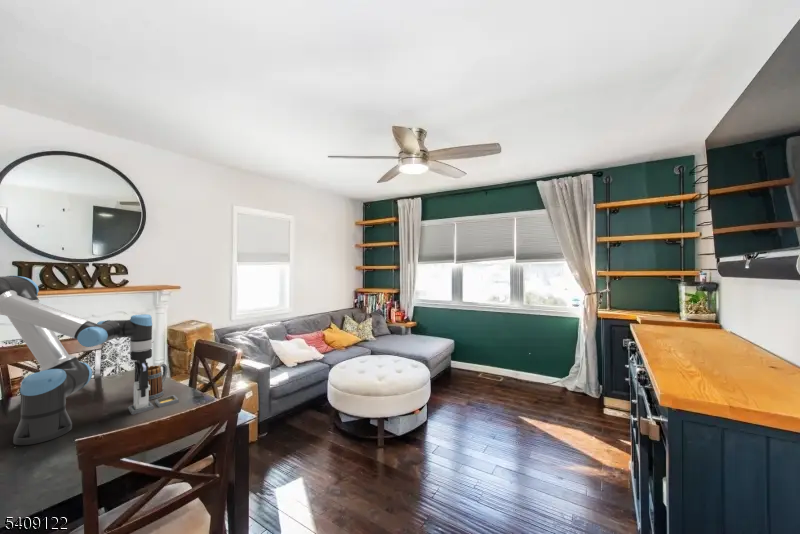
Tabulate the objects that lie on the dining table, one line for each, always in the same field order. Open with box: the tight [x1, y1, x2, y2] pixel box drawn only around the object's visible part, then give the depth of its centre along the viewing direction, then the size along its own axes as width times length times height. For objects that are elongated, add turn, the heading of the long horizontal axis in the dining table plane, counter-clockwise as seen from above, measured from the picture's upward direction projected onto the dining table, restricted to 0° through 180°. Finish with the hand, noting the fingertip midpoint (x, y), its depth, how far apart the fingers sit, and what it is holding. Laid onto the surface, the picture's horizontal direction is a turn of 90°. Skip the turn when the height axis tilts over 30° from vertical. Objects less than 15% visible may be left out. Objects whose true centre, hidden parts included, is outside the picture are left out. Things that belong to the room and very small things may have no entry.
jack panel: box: [127, 394, 180, 415], centre depth 149 cm, size 18×11×2 cm, turn 138°
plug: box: [133, 381, 150, 410], centre depth 146 cm, size 5×4×14 cm
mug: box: [148, 363, 168, 401], centre depth 161 cm, size 16×11×15 cm
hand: (141, 401), depth 145 cm, fingers open, 5 cm apart
